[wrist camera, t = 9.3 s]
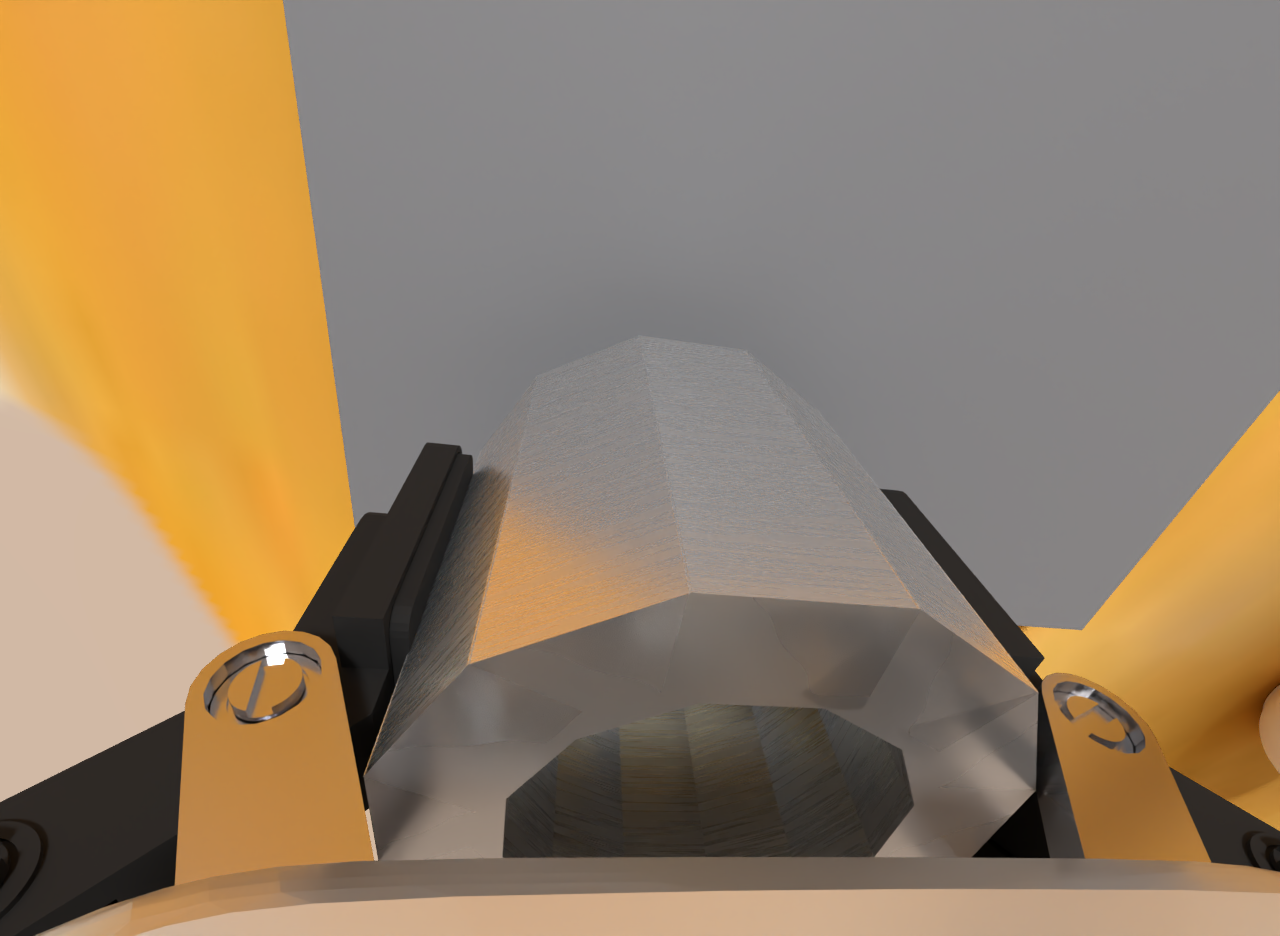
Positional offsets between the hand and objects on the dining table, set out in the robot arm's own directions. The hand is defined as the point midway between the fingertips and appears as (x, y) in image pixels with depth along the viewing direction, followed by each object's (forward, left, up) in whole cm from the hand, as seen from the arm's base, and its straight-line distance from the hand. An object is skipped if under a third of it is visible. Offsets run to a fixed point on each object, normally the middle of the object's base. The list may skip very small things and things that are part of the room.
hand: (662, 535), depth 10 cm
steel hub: (0, 0, -1) cm, 1 cm away
